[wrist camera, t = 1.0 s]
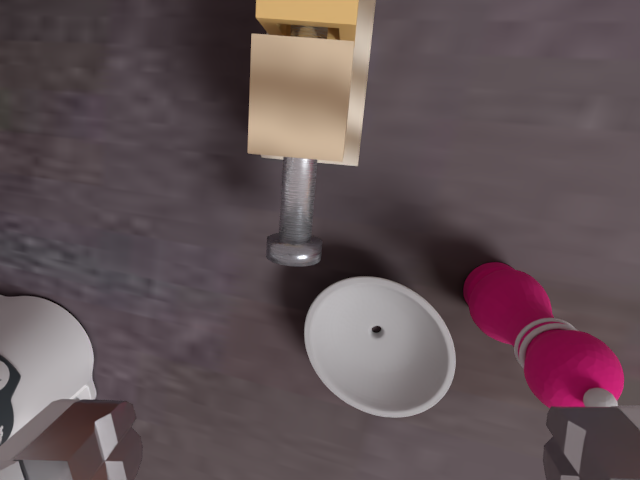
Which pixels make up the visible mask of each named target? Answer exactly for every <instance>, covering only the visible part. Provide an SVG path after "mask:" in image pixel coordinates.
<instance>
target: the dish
mask: <svg viewBox="0 0 640 480" xmlns="http://www.w3.org/2000/svg"><path fill="white" fill-rule="evenodd" d="M374 326H380V327H381V331H380V332H378V333H375V332H373V331H372V327H374ZM304 339H305V346H306V350H307V354H308V357H309V359H310V362H311V364H312V366H313V368H314V370H315V371H316V373H317V375H318V376H319V377H320V379H321V380H322V381H323V383H324V384H325V385H326V386H327V387H328V388H329V389H330V390H331V391H332V392H333V393H334V394H335V395H336V396H338V397H339V398H340V399H342V400H343V401H345V402H346V403H348V404H349V405H351V406H353V407H355V408H357V409H359V410H362V411H364V412H367V413H370V414H373V415H377V416H383V417H407V416H412V415H415V414H418V413H421V412H423V411H426V410H427V409H429V408H431V407H432V406H434V405H435V404H436V403H437V402H438V401H440V400H441V398H442V397H443V396H444V395H445V394H446V392H447V391H448V389H449V387H450V385H451V383H452V380H453V377H454V373H455V365H456V357H455V349H454V344H453V341H452V337H451V335H450V332H449V330H448V328H447V326H446V324H445V323H444V321H443V319H442V318H441V316H440V315H439V314H438V313H437V311H436V310H435V309H434V308H433V307H432V306H431V305H430V304H429V303H428V302H427V301H426V300H425V299H424V298H422V297H421V296H420V295H419V294H417V293H416V292H414V291H413V290H411V289H409V288H407V287H406V286H404V285H402V284H399V283H397V282H394V281H391V280H388V279H384V278H380V277H373V276H357V277H351V278H347V279H343V280H340V281H338V282H336V283H334V284H332V285H330V286H329V287H327V288H326V289H324V290H323V291H322V292H321V293H320V294H319V295H318V296H317V297H316V298H315V300H314V301H313V303H312V304H311V306H310V308H309V310H308V313H307V316H306V320H305V326H304Z"/></svg>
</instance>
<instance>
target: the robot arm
mask: <svg viewBox="0 0 640 480" xmlns="http://www.w3.org/2000/svg"><path fill="white" fill-rule="evenodd" d="M93 363H94V356H93V349H92V345H91V342H90V340H89V337H88V335H87V334H86V332H85V330H84V329H83V327H82V326H81V324H80V323H79V322H78V321H77V320H76V319H75V318H74V317H73V316H72V315H71V314H70V313H69V312H68V311H66V310H65V309H64V308H62V307H60V306H59V305H57V304H55V303H53V302H51V301H48V300H46V299H43V298H39V297H34V296H16V297H6V296H3V295H0V480H134V479H135V477H136V476H137V474H138V470H139V467H140V464H141V461H142V451H143V446H142V441H141V436H140V435H139V434H138V433H137V432H136V431H135V430H134V429H133V428H132V425H133V423H134V422H135V420H136V414H135V410H134V407H133V404H131V403H129V402H127V401H116V400H94V399H95V398H96V389H95V385H94V382H93V379H92V370H93ZM546 426H547V427H548V429H549V431H550V432H551V434H552V435H553V437H552V438H551V439H550V440H549V441H548V442H547V443H546V444H545V445H544V454H543V464H544V470H545V476H546V480H640V406H611V407H563V406H551V408H550V410H549V411H548V414H547V422H546Z"/></svg>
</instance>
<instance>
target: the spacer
mask: <svg viewBox="0 0 640 480" xmlns="http://www.w3.org/2000/svg"><path fill="white" fill-rule="evenodd" d="M358 5H359V0H256V19H257V20H258V21H259V22H260V24H261V25H262V26H263V28H264V29H265V30H266V31H267V33H268V34H269V35H279V36H290V32H291V25H302V26H315V27H328V33H327V39H332V40H346V41H354V46H355V36H356V26H357V15H358Z"/></svg>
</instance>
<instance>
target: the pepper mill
mask: <svg viewBox="0 0 640 480" xmlns="http://www.w3.org/2000/svg"><path fill="white" fill-rule="evenodd" d="M463 294H464V298H465V301H466V302H467V304H468V305H469V310H470V314H471V316H472V319H473V321H474V322H475V323H476V325H477V326H478V327H479V328H480V329H481V330H482V331H483V332H484V333H485V334H486V335H488V336H490V337H492V338H493V339H496V340H498V341H500V342H503V343H507V344H512V345H513V347H514V352H515V356H516V359H517V361H518V362H519V363H520V365H521V366H522V367H523V369H524V374H525V378H526V381H527V384H528V386H529V387H530V389H531V391H532V392H533V393H534V395H535V396H536V397H537V398H538V399H539V400H540V401H541V402H542V403H543V404H545V405H546V406H547V407H549V408H551V406H563V407H611V406H618V404H617V400H618V398H619V397H620V395H621V393H622V390H623V385H624V374H623V369H622V367H621V364H620V362H619V360H618V358H617V357H616V355H615V354H614V353H613V352H612V350H611V349H610V348H609V347H608V346H607V345H606V344H605V343H603V342H602V341H601V340H599V339H597V338H596V337H594V336H592V335H590V334H588V333H585V332H581V331H578V330H577V329H575V328H574V327H573V326H572V325H571V324H569V323H568V322H566V321H564V320H561V319H557V318H554V317H553V315H552V309H551V304H550V300H549V298H548V296H547V294H546V292H545V290H544V289H543V287H542V286H541V285H540V284H539V283H538V282H537V281H536V280H535V279H534V278H533V277H531V276H530V275H528V274H526V273H524V272H521V271H518V270H515V269H513V268H512V267H510V266H509V265H506V264H504V263H499V262H491V263H486V264H483V265H481V266H479V267H477V268H475V269H474V270H473V271H472V272H471V273H470V274H469V275H468V277H467V278H466V280H465V283H464V288H463Z"/></svg>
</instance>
